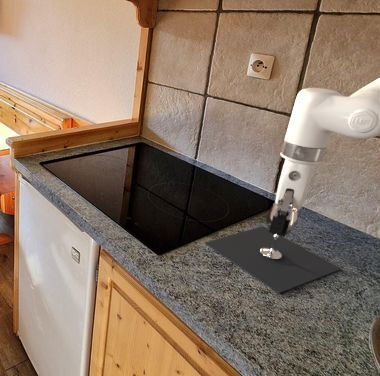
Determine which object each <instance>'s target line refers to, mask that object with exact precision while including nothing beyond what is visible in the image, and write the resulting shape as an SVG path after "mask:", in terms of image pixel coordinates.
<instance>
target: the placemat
mask: <svg viewBox="0 0 380 376" xmlns="http://www.w3.org/2000/svg"><path fill="white" fill-rule="evenodd" d="M273 237H274V234H272V233H270V232H269V228H268V227H267V226H264V225H262V226H258V227H255V228H250V229H247V230H244V231H240V232H236V233H234V234H229V235H226V236H222V237H219V238H216V239H213V240H209V241H205V242H204V244H205V246H207V247H209V248H210V249H212V250H213V251H215V252H216V253H218V254H219V255H221V256H222V257H224V258H225V259H227V260H228V261H229V262H230V263H233V264H234V265H235V266H237V267H238V268H240V269H241V270H243V271H244V272H245V273H247V274H249V275H250V276H251V277H253V278H255V279H256V280H258V281H259V282H260V283H261V284H264V285H265V286H266V287H268V288H269V289H271V290H272V291H273V292H275V293H277V294H278V295H280V294H284V293H286V292H288V291H291V290H294V289H297V288H299V287H301V286H304V285H306V284H310V283H311V282H314V281H317V280H319V279H321V278H322V279H323V278H324V277H327V276H330V275H332V274H335V273H337V272H340V271H342V268H341V267H339V266H338V265H335V264H333V262H330V261H328V260H326V259H325V258H322V256H319V255H317V254H316V253H314V252H311V251H310V250H308V249H306V248H304V247H302V246H300V245H299V244H297V243H295V242H294V241H291V240H290V239H288V238H286V237H285V236H284V237H283V236H279V237H278V239H277V240H276V242H275V245H274V249H275V250H277V251H279V252H280V253H281V255H282V257H281V258H279V259H272V258H268V257H266V256H264V255H263V254H262V253H261V252H260V249H261V248H271V247H272V244H273V239H274V238H273Z"/></svg>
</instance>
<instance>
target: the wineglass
mask: <svg viewBox="0 0 380 376" xmlns="http://www.w3.org/2000/svg"><path fill="white" fill-rule="evenodd" d="M278 204H279V203H278ZM281 204H283V202H281ZM289 206H292V205H291V204H289ZM277 207H278V205H277V204H276V203H275V202H274V203H273V204H272V205H271V207H270V208H269V210H268V212H267V215H266V217H265V225H266V228H267V229H270V225H271V222H272V219H273V216H275V213H276V210H277ZM280 209H281V207H280ZM288 212H289V209H288ZM289 220H290V223H289V226H288V229H287V232H286V235H287V234H290V233H291V232H293V231H294V230H295V228H296V226H297V222H298V210H297V209H296V208H294V206H293V209H292V212H291V215H290V218H289ZM278 237H279V235H276V234H274V237H273V238H274V239H273V244H272V247H271V248H261V249H260V252H261V253H262V254H263V255H264V256H266V257H268V258H272V259H279V258H281V257H282V255H281V253H280V252H279V251H277V250H275V249H274V245H275V242H276V240H277V239H278Z"/></svg>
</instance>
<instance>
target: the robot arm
mask: <svg viewBox="0 0 380 376" xmlns="http://www.w3.org/2000/svg"><path fill="white" fill-rule="evenodd" d="M333 133H335V134H338V135H341V136H343V137H344V136H345V137H348V138H352V139H356V140H368V139H372V138H375V137H377V136H380V77H379V78H377V79H375V80H373V81H372V82H370V83H368V84H367V85H365V86H363V87H362V88H359V89H357V91H355V92H353V93H352V94H351V95H349V96H345V95H344V96H343V95H342V94H341V93H340V92H339V91H337V90H333V89H328V88H323V87H307V88H303V89H301V90H300V91H298V92H297V95H296V97H295V100H294V105H293V108H292V111H291V115H290V118H289V122H288V125H287V129H286V133H285V135H284V139H283V142H282V146H281V149H280V152H279V155H280V157H281V158H283V159H285V160H284V163H283V166H282V169H281V175H280V176H279V182H278V185H277V189H276V195H275V201H274V203H276V204H277V205H278V207H277V210H276V213H275V216H273V219H272V222H271V225H270V229H269V228H268V229H269V232H270V233H272V234H276V235H279V236H282V237H284V238H285V237H286V235H287V234H286V232H287V229H288V226H289V223H290V220H289V218H290V215H291V212H292V209H293V206H294V208H296V209H297V211H299V210H301V209H302V207H303V205H304V201H305V198H306V196H307V193H308V190H309V186H310V183H311V180H312V177H313V174H314V170H315V167H316V165H320V164H322V163H323V160H324V158H325V155H326V151H327V149H328V146H329V143H330V140H331V137H332V134H333ZM281 202H283V204H281ZM278 203H279V204H278ZM289 204H291V205H292V206H289ZM280 207H281V209H280ZM288 209H289V212H288Z"/></svg>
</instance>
